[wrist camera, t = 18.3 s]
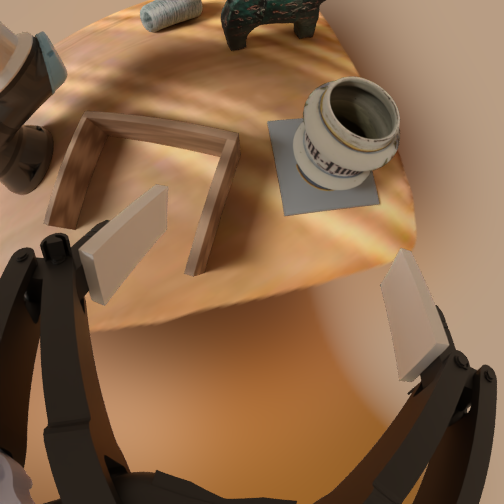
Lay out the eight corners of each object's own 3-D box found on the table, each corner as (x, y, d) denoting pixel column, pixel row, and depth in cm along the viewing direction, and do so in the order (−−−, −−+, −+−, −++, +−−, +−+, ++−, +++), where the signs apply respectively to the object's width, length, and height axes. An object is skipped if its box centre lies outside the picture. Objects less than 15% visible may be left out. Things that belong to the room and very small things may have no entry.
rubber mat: (267, 122, 42) (267, 121, 41) (355, 118, 42) (356, 116, 41) (284, 216, 41) (285, 215, 41) (378, 204, 41) (379, 203, 41)
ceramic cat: (310, 24, 42) (327, -42, 22) (323, 42, 42) (347, -27, 22) (221, 39, 42) (211, -35, 22) (230, 58, 42) (222, -21, 22)
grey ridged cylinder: (140, 37, 39) (138, -3, 30) (141, 30, 43) (140, -5, 35) (205, 29, 42) (207, -10, 34) (198, 23, 47) (199, -11, 38)
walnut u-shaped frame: (204, 273, 41) (193, 276, 33) (70, 228, 41) (43, 223, 33) (240, 154, 41) (238, 133, 33) (105, 129, 42) (84, 110, 34)
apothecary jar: (283, 129, 41) (300, 59, 23) (352, 129, 41) (397, 70, 23) (293, 200, 41) (322, 160, 23) (365, 196, 41) (428, 162, 23)
